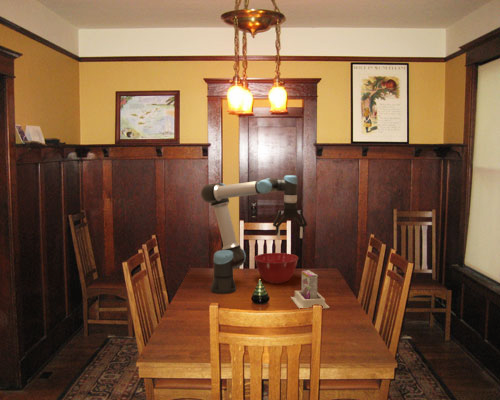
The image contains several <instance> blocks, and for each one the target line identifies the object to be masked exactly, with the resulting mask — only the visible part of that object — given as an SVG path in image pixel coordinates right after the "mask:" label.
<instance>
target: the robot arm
mask: <svg viewBox="0 0 500 400" xmlns="http://www.w3.org/2000/svg"><path fill="white" fill-rule="evenodd" d="M273 192H274V193H275V192H283V193H284V194H283V210H278V211H277V216H276V217H275V219H274V222H273V224H272V226H273V227H274V228H275V233H277V234H276V235H277V237H276V238H277V239H278V240H281V239H280V238H281V233H280V232H281V229H280V228H281V227H280V226H281V225H282V224H283V223H284V221H285V220H286V219H295V220H296V222H298V224H299V225H300V226H299V229H300V230H299V239H303V235H304V234H303V233H305V227H308V223H307V221H306V219H305V216H304V214H303V210H301V209H299V210H298V203H297V201H298V176H297V175H294V174H293V175H291V174H290V175H284V177H283V178H272V177H268V178H265V179H261V180H254V181H248V182H241V183H240V182H239V183H232V184H226V183H223V182H216V183H215V182H214V183H208V184H206V185H204V186H203V187H202V189H201V191H200V197H201V199H202V200H203V201H204V202H206V203H207V204H210V207H211V208H213V210H214V211H215V217H216V220H217V224H218V229H219V232H220V236H221V237H220V238H221V241H222V245H223V246H222V248H221V249H220V250H217V251H215V253H213V258H212V259H213V279H212V282H211V286H210V291H211V292H212V293H215V294H221V295H222V294H223V295H224V294H227V295H228V294H232V293H235V292H236V291H237V286H236V283H235V279H234V270H235V269H237V268H240V267H242V265H243V264H244V263H245V262H246V259H247V256H246V252H245V250H244V249H243V248H241V244H240V243H238V241H237V238H236V233H235V230H234V225H233V221H232V218H231V217H232V216H231V214H230V213H231V212H230V209H229V206H228V205H229V204H230V199H231V198H237V197H238V198H239V197H245V196H252V195H262V194H264V195H265V194H270V193H273ZM229 198H230V199H229ZM297 214H299V216H300V218H301V220H300V219H299V217H298V215H297ZM282 215H283V216H282ZM281 216H282V217H281Z"/></svg>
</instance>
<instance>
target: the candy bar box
mask: <svg viewBox="0 0 500 400" xmlns="http://www.w3.org/2000/svg"><path fill="white" fill-rule="evenodd" d="M318 277H319V276H318V274H316V273H315V272H313V271H311V270H309V269H308V270H307V269H305V270H301V286H300V287H301V290H300V291H301V295H302V296H303V297H304V299H317V292H318V288H319V287H318V283H319V281H318V280H319V278H318ZM318 293H319V292H318Z"/></svg>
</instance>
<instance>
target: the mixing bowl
mask: <svg viewBox="0 0 500 400" xmlns="http://www.w3.org/2000/svg"><path fill="white" fill-rule="evenodd" d="M253 259H254V260H255V264H256V267H257V270H258V272H259V275H260V276H261V278H262V279H263V280H264V281H265V282H266V283H270V284H284V283H287V281H289V280H290V279H291V278H292V277H293V275H294V272H295V270H296V269H297V266H298V265H297V264H298V260H299V256H297V255H296V254H292V253H286V252H285V253H284V252H269V253H268V252H267V253H261V254H260V253H259V254H258V255H255V256H254V258H253Z"/></svg>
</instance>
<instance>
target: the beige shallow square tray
mask: <svg viewBox="0 0 500 400" xmlns="http://www.w3.org/2000/svg"><path fill="white" fill-rule="evenodd" d="M301 291H302V290H294V296H290V299H291V301H292V302H293V303H294V304H295V305H296V306H297V308H298V309H299V310H300V308H309V307H312V305H314V304H319V305H322V306H323V308H322V309H330V306H329V305H328V304H327V303H326V299H325V298H324V296H322V295H321V294H320V293H319V292H317V299H304V297H303V296H302V295H301Z"/></svg>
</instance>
